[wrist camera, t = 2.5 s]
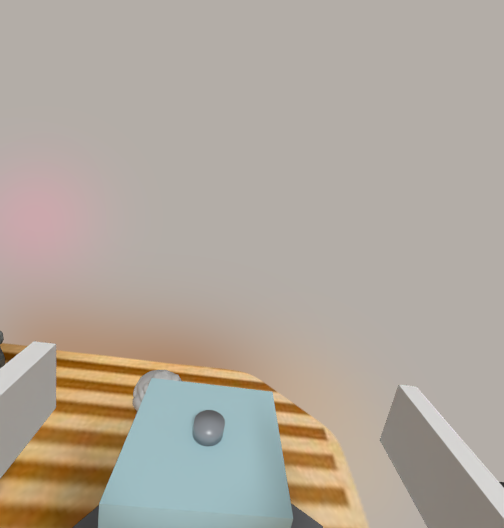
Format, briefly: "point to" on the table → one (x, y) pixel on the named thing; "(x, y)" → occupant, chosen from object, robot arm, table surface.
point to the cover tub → (199, 462)
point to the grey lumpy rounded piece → (144, 383)
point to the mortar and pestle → (0, 356)
